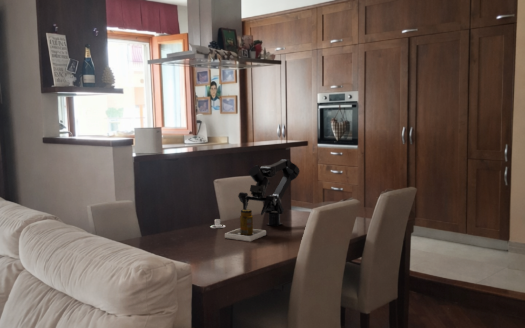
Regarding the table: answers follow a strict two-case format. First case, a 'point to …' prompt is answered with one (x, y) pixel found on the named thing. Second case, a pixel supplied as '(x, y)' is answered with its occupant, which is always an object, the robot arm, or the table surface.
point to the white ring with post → (217, 224)
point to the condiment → (246, 223)
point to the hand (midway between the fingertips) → (252, 213)
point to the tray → (236, 236)
